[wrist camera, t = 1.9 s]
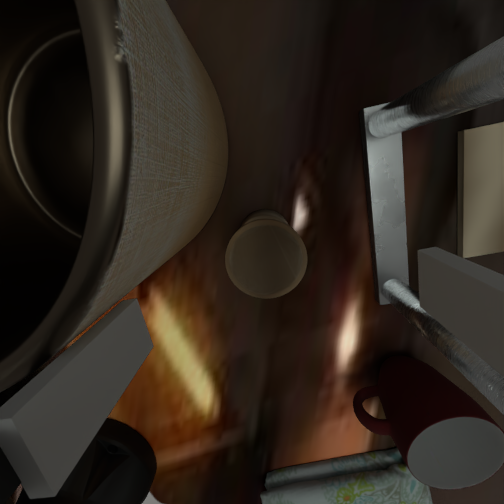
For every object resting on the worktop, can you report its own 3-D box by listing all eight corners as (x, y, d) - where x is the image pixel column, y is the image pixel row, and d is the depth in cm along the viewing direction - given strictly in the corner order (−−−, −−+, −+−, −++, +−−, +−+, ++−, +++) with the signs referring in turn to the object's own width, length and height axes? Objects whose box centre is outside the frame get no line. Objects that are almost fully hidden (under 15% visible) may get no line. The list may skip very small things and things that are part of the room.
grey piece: (375, 299, 29) (547, 488, 11) (359, 111, 24) (619, -65, 6) (403, 295, 29) (624, 481, 11) (393, 104, 24) (760, -102, 6)
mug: (348, 406, 33) (383, 501, 23) (334, 353, 31) (367, 432, 21) (436, 389, 32) (511, 481, 22) (428, 332, 30) (507, 406, 20)
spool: (243, 265, 28) (234, 304, 20) (231, 212, 27) (216, 229, 18) (296, 255, 28) (312, 291, 19) (287, 200, 26) (300, 212, 18)
